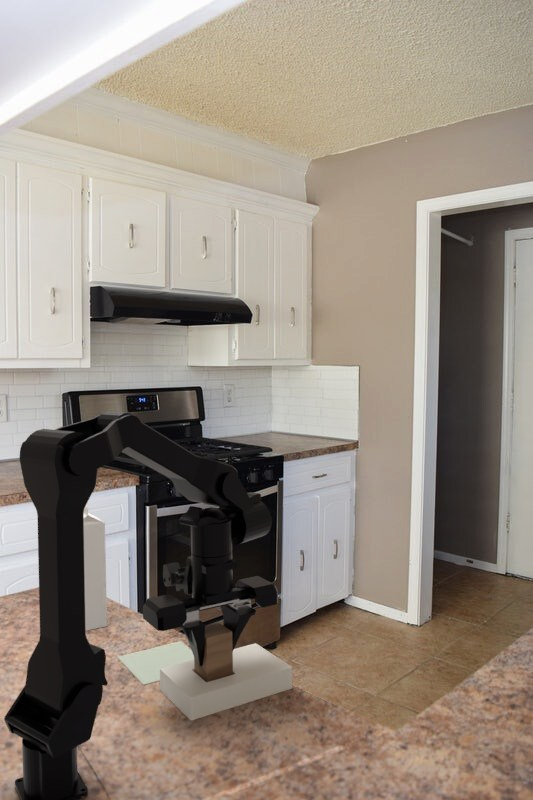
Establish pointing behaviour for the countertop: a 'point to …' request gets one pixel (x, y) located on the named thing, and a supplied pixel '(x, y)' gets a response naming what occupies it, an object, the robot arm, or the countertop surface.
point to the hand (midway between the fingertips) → (213, 661)
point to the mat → (156, 661)
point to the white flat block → (226, 682)
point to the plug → (216, 653)
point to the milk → (94, 572)
